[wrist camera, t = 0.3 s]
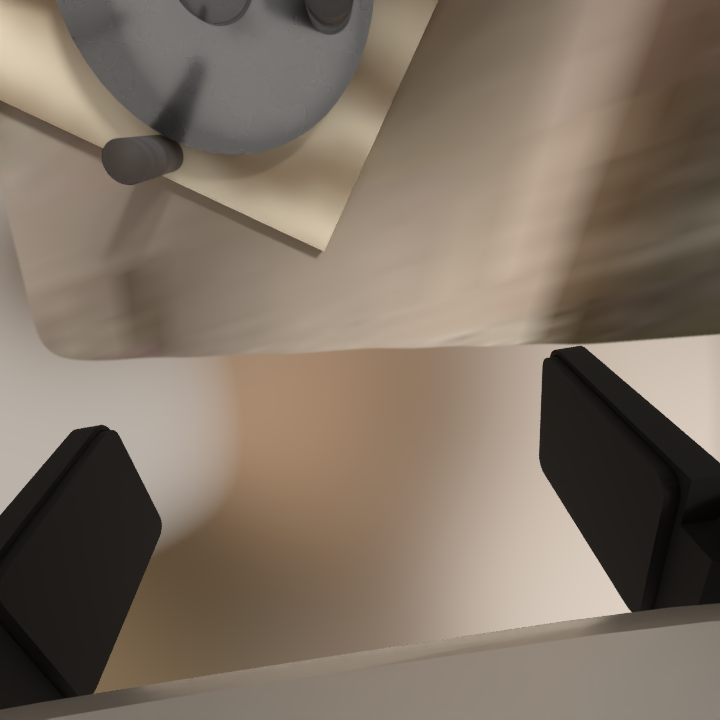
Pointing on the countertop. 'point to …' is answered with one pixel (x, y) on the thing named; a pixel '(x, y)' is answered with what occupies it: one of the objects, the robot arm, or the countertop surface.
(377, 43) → the base board
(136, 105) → the flange plate
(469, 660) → the robot arm
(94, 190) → the countertop surface
